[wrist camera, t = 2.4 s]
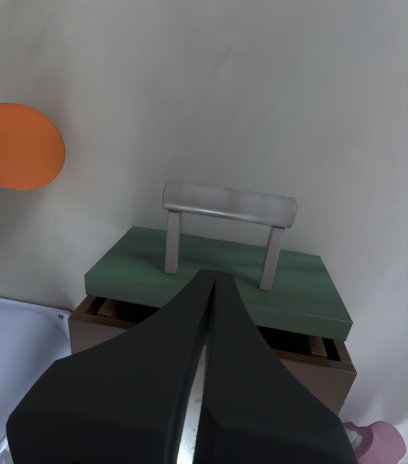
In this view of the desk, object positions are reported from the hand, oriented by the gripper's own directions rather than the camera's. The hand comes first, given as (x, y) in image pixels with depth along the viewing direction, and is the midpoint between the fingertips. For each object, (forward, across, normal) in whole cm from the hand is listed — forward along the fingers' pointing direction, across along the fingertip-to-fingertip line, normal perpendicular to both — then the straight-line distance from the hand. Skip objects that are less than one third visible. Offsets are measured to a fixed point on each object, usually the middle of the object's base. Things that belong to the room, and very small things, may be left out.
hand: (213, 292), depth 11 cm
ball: (+7, +13, -3) cm, 15 cm away
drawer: (+8, 0, +5) cm, 10 cm away
